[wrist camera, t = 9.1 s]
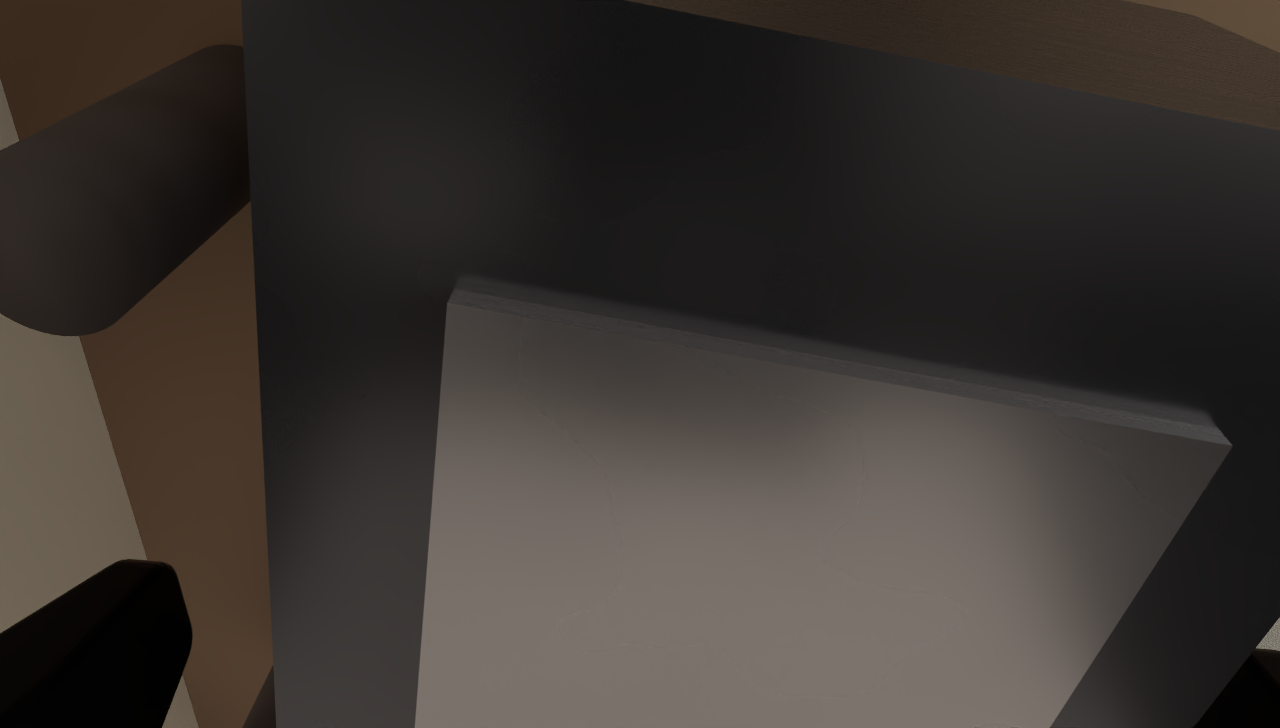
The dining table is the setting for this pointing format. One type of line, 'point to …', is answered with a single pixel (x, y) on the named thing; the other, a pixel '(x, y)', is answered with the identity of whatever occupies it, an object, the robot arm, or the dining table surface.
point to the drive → (763, 361)
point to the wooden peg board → (181, 283)
